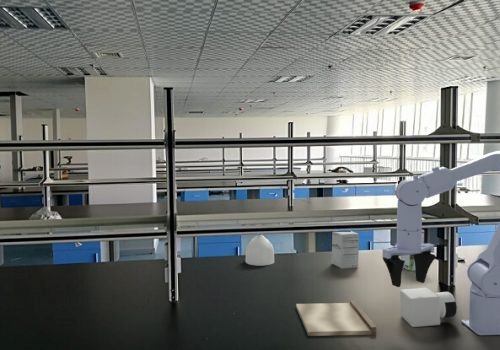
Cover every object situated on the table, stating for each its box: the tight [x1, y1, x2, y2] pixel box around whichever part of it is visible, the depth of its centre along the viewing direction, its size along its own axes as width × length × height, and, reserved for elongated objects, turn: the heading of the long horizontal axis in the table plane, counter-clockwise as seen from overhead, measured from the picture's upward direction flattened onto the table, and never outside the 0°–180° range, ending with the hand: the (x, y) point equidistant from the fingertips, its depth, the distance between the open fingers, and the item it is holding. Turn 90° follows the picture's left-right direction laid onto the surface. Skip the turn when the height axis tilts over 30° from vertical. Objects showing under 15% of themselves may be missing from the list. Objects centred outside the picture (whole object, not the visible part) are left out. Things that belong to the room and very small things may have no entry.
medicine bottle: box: [399, 287, 458, 328], centre depth 109 cm, size 7×7×12 cm
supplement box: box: [331, 230, 360, 270], centre depth 161 cm, size 7×7×13 cm
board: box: [295, 299, 377, 337], centre depth 110 cm, size 16×18×2 cm
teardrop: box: [245, 234, 275, 267], centre depth 166 cm, size 11×11×12 cm
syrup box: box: [400, 229, 425, 272], centre depth 157 cm, size 6×6×14 cm
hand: (408, 283), depth 107 cm, fingers open, 7 cm apart
